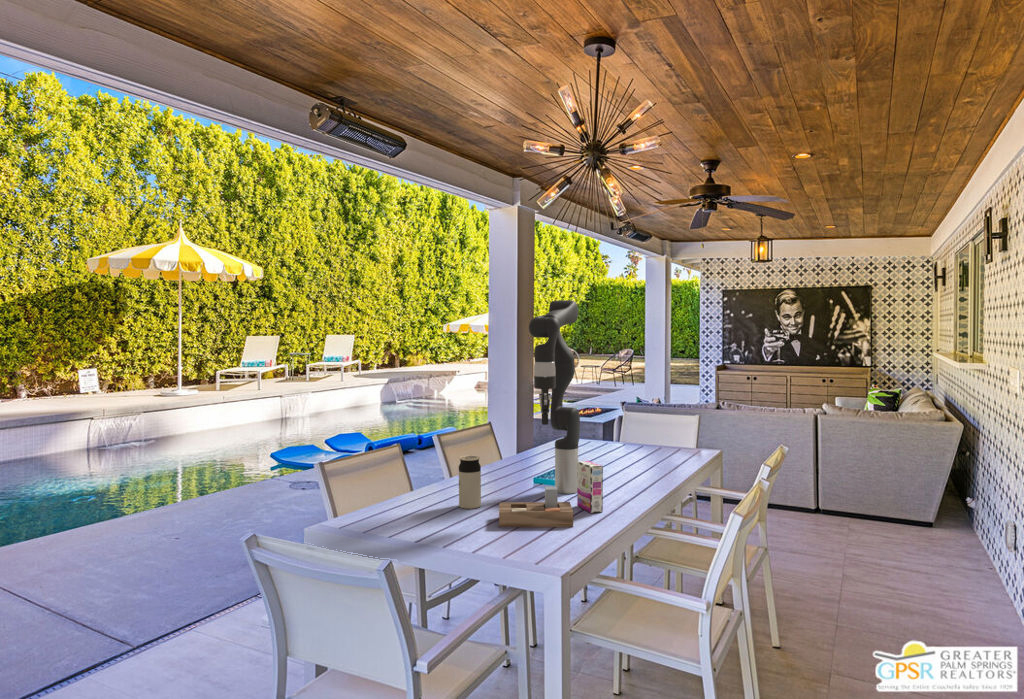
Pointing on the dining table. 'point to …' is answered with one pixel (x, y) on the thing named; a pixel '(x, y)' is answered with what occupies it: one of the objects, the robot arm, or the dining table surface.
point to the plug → (551, 497)
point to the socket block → (535, 515)
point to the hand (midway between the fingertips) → (545, 424)
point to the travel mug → (469, 482)
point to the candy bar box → (590, 486)
